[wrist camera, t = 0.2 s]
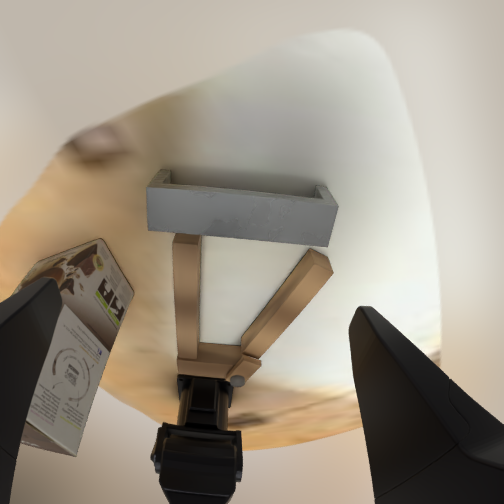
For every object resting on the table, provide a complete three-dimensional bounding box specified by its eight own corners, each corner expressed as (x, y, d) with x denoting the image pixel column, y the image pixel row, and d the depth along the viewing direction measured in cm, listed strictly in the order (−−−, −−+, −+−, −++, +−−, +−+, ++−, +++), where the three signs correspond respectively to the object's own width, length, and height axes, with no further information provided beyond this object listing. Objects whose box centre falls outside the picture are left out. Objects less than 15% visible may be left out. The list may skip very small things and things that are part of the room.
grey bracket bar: (318, 223, 23) (327, 247, 21) (160, 208, 22) (148, 230, 20) (326, 186, 22) (338, 206, 19) (159, 169, 21) (146, 187, 18)
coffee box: (101, 234, 24) (3, 403, 10) (136, 293, 27) (81, 461, 13) (34, 260, 25) (-53, 392, 11) (68, 309, 28) (7, 442, 15)
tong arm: (242, 360, 32) (241, 389, 29) (226, 355, 31) (225, 384, 28) (327, 257, 25) (338, 286, 22) (309, 248, 24) (318, 277, 21)
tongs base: (245, 360, 32) (245, 379, 30) (181, 354, 32) (178, 373, 29) (266, 235, 24) (268, 253, 22) (176, 227, 23) (170, 245, 21)
